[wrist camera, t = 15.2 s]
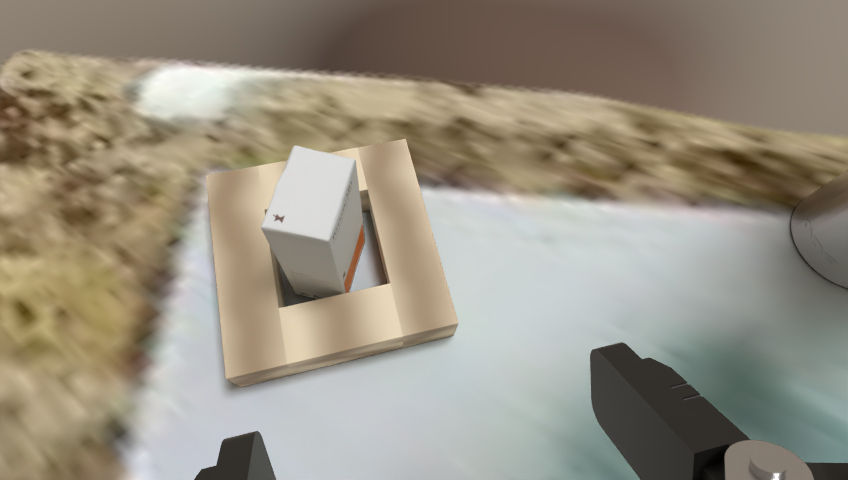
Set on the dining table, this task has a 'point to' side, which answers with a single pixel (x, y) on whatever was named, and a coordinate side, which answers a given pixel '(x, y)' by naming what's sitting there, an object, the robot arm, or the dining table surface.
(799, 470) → the robot arm
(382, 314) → the socket block
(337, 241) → the skincare box
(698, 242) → the dining table surface
